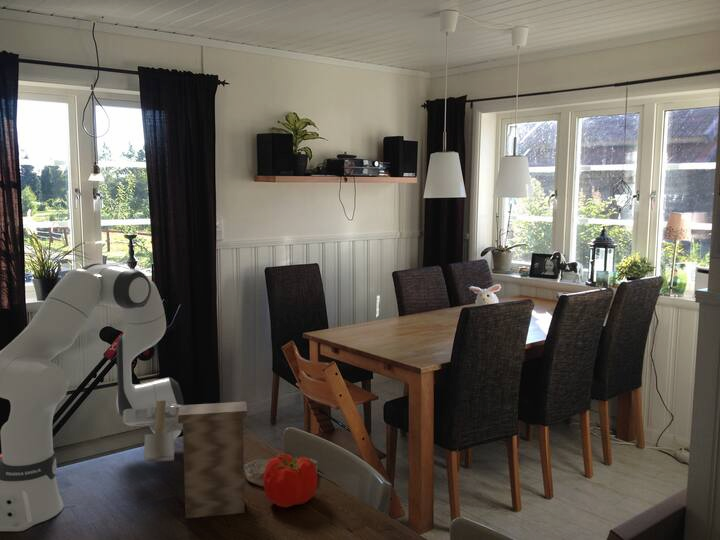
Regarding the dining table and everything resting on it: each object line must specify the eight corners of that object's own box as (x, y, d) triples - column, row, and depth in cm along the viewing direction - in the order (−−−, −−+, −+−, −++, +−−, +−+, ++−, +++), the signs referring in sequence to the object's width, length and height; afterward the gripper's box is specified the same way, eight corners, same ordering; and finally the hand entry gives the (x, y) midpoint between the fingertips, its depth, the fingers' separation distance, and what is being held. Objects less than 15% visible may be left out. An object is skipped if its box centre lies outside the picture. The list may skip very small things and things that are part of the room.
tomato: (253, 506, 165) (252, 462, 163) (287, 484, 177) (287, 442, 175) (297, 520, 158) (296, 474, 157) (329, 496, 170) (329, 453, 169)
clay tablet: (236, 488, 175) (311, 490, 174) (236, 470, 175) (311, 472, 173) (250, 467, 189) (319, 469, 188) (249, 451, 189) (318, 452, 187)
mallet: (145, 462, 170) (143, 457, 166) (148, 405, 178) (146, 399, 175) (173, 460, 171) (172, 455, 168) (174, 403, 180) (173, 398, 176)
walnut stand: (181, 519, 158) (177, 415, 155) (182, 506, 165) (179, 405, 162) (248, 513, 161) (247, 410, 158) (247, 500, 168) (246, 401, 165)
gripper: (126, 410, 186) (119, 400, 173) (201, 405, 190) (199, 395, 178) (125, 433, 184) (118, 424, 171) (201, 427, 188) (199, 419, 175)
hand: (160, 409), depth 174 cm, fingers closed on mallet, 2 cm apart
